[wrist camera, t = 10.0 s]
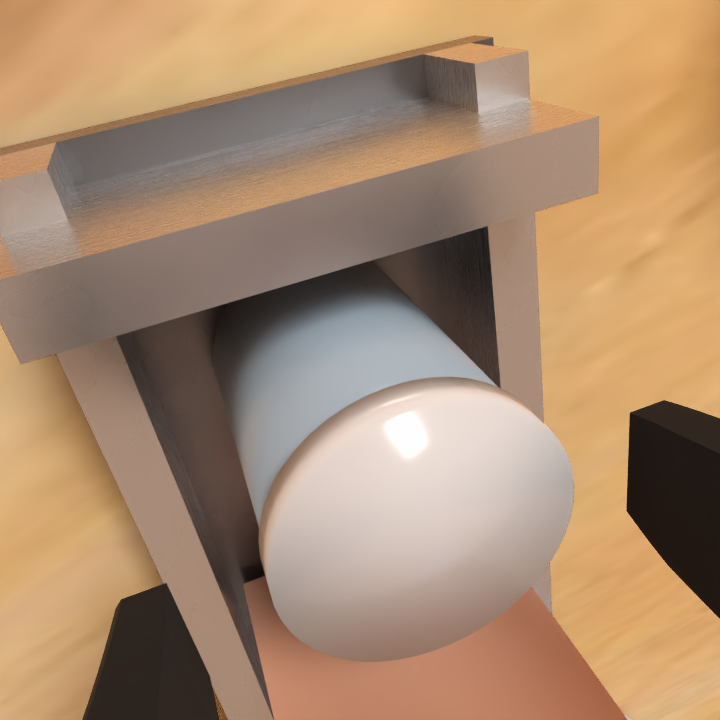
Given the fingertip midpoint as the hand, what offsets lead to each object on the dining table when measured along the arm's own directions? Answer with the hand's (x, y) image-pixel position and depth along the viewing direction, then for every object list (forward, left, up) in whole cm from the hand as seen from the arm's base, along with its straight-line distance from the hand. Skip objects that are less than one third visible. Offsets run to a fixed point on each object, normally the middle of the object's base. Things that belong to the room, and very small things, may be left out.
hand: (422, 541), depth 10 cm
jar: (0, 0, -6) cm, 6 cm away
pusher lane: (-5, 0, -7) cm, 9 cm away
